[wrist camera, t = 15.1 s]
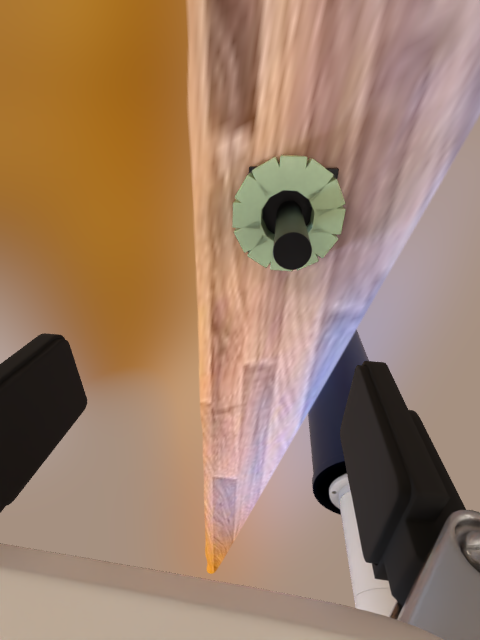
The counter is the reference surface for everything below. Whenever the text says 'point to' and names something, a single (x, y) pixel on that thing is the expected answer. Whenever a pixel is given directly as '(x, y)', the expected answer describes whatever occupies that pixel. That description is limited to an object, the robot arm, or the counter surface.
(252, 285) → the counter surface
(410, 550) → the robot arm
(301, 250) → the post
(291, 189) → the ring
